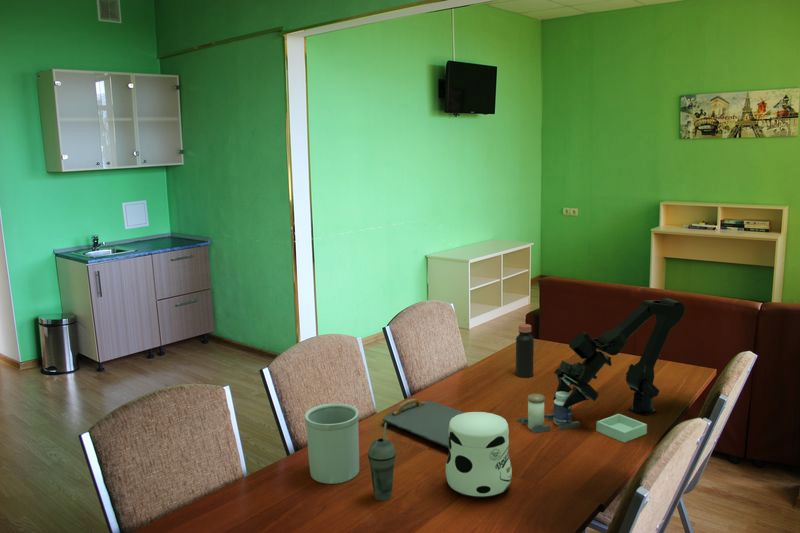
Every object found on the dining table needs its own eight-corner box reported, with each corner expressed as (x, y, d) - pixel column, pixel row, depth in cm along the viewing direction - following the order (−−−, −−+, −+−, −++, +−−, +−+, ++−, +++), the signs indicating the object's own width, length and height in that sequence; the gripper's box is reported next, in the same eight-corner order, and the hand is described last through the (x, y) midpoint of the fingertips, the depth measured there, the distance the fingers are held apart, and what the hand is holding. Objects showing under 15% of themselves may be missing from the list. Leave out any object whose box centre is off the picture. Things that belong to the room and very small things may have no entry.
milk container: (523, 497, 174) (523, 431, 170) (460, 508, 169) (459, 441, 166) (495, 467, 190) (495, 406, 187) (436, 477, 185) (435, 415, 182)
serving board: (512, 438, 210) (513, 419, 209) (462, 462, 194) (462, 442, 193) (424, 405, 238) (424, 388, 237) (374, 424, 222) (374, 406, 221)
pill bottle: (571, 426, 216) (572, 397, 214) (553, 425, 217) (554, 396, 215) (571, 419, 221) (571, 390, 220) (553, 418, 223) (553, 389, 221)
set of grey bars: (561, 413, 227) (562, 409, 226) (580, 426, 216) (580, 422, 216) (515, 420, 222) (515, 416, 222) (532, 434, 211) (532, 429, 211)
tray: (618, 422, 218) (618, 413, 218) (646, 433, 210) (647, 424, 209) (596, 430, 212) (596, 421, 212) (624, 442, 204) (624, 432, 203)
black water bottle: (534, 377, 262) (535, 327, 258) (517, 378, 262) (517, 328, 259) (531, 372, 269) (532, 323, 265) (514, 372, 269) (514, 323, 265)
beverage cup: (368, 489, 179) (366, 418, 176) (395, 488, 180) (394, 416, 176) (369, 504, 172) (367, 429, 168) (398, 502, 173) (396, 428, 169)
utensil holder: (339, 490, 179) (337, 428, 176) (296, 477, 187) (293, 417, 184) (371, 467, 191) (369, 409, 188) (329, 456, 199) (327, 399, 196)
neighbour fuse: (535, 422, 220) (536, 392, 218) (547, 427, 216) (548, 397, 214) (524, 426, 217) (524, 396, 215) (535, 431, 213) (536, 400, 211)
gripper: (559, 344, 225) (529, 379, 224) (591, 360, 207) (558, 399, 206) (580, 364, 229) (550, 399, 227) (612, 382, 211) (580, 420, 210)
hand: (558, 404), depth 218 cm, fingers closed on pill bottle, 6 cm apart
